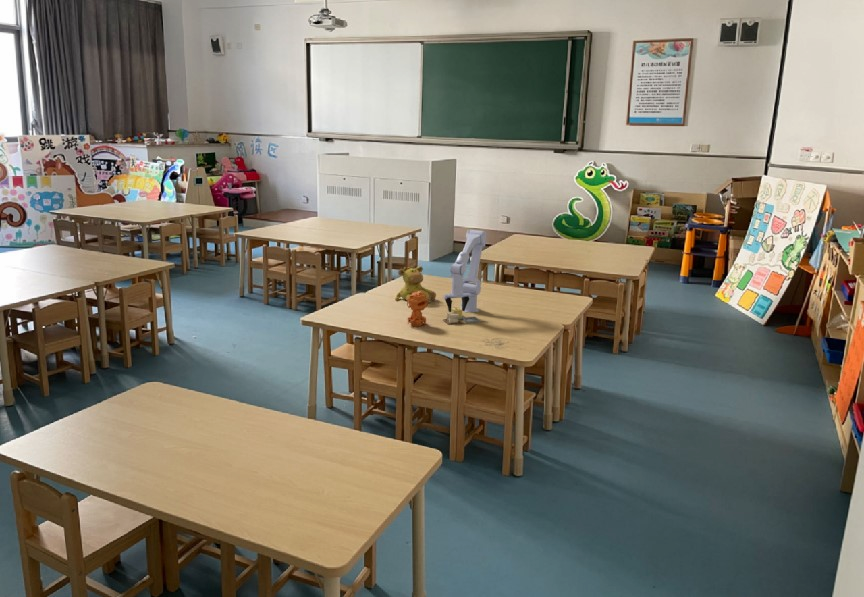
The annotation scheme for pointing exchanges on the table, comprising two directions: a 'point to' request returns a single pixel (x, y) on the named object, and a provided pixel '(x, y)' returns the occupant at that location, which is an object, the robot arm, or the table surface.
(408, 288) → the green plush bear
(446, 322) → the tray walnut
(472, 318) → the tray slate
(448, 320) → the maple block
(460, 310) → the letter cube
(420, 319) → the orange toy figurine
